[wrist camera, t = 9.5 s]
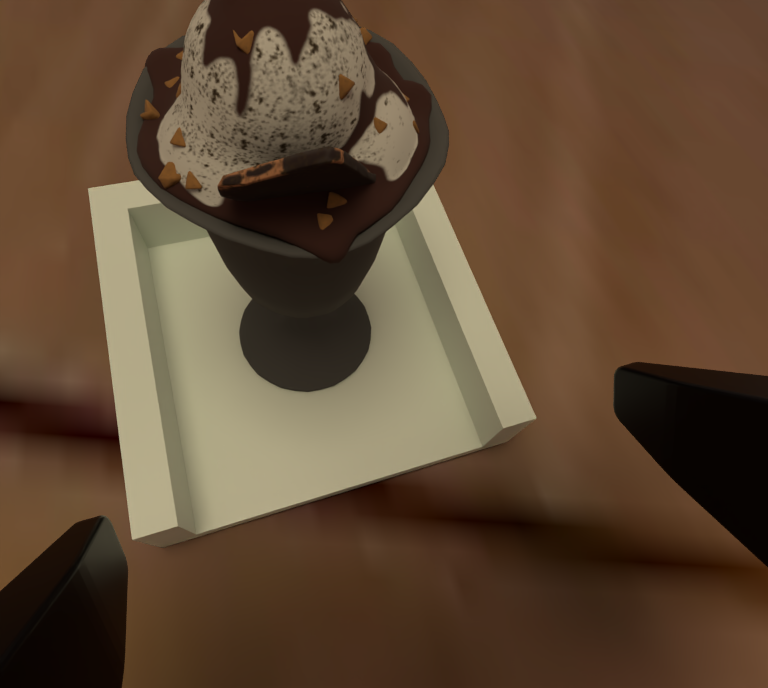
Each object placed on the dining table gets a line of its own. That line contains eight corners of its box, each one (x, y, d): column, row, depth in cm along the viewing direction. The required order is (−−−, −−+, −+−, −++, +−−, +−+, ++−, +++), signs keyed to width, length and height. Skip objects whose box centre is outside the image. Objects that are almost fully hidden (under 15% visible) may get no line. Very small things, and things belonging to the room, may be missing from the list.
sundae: (278, 231, 22) (207, -348, 8) (421, 306, 21) (597, -199, 8) (176, 356, 19) (-174, -204, 6) (336, 448, 18) (376, 52, 5)
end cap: (507, 441, 20) (536, 418, 17) (162, 547, 17) (131, 539, 14) (402, 187, 24) (412, 136, 22) (117, 238, 22) (88, 188, 19)
